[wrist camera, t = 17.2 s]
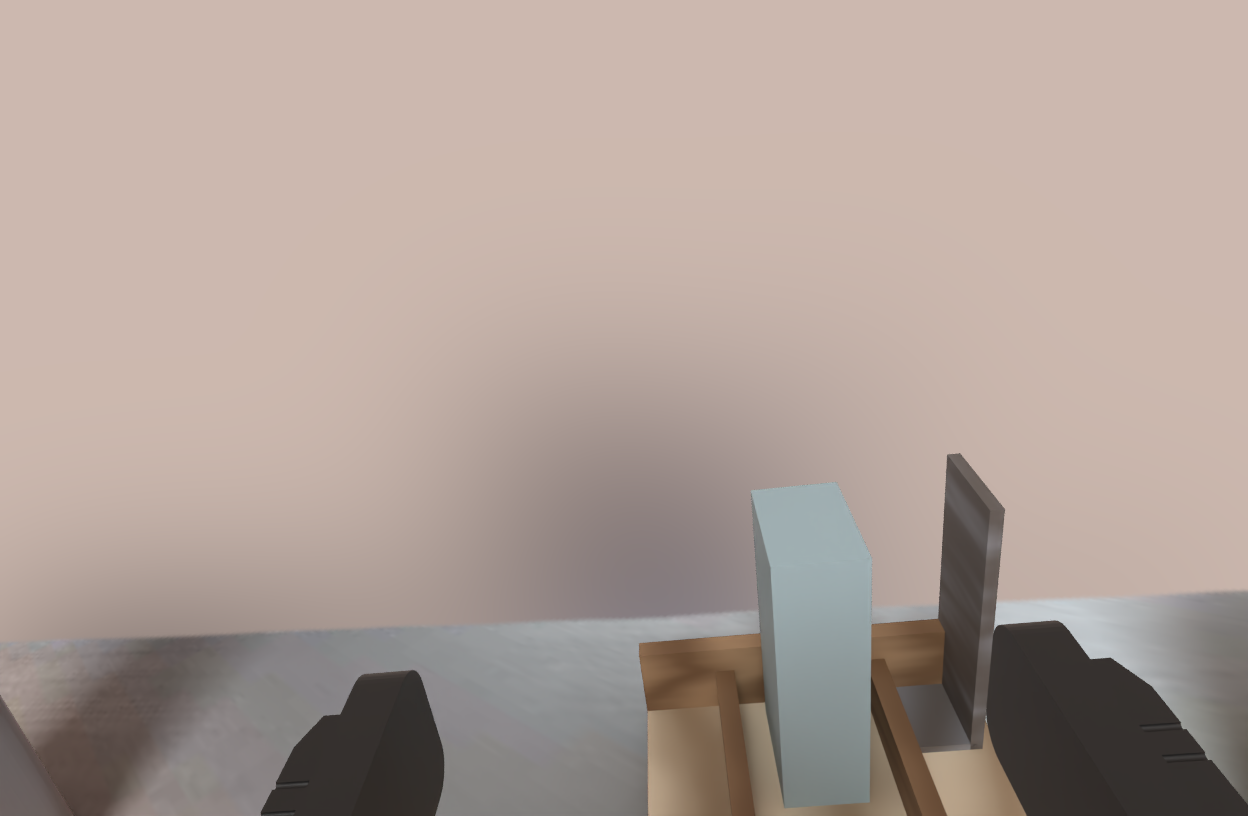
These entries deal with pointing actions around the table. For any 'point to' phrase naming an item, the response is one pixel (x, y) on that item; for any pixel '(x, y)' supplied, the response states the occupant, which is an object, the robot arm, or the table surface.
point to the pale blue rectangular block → (815, 642)
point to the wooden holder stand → (900, 699)
